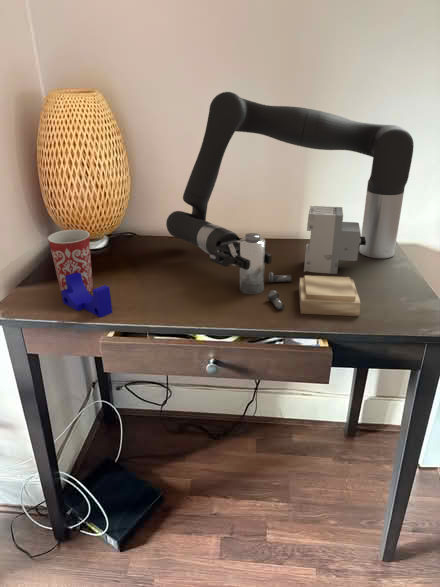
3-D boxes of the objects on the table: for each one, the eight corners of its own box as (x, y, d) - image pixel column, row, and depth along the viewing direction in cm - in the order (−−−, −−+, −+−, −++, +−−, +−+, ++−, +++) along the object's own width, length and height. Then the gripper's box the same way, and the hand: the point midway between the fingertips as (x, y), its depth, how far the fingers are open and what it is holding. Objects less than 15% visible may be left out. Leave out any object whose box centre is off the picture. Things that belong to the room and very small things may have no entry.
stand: (298, 289, 111) (300, 273, 109) (351, 291, 109) (353, 275, 107) (300, 313, 100) (301, 296, 98) (359, 316, 98) (361, 298, 97)
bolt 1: (270, 284, 113) (270, 274, 112) (268, 280, 115) (269, 270, 114) (291, 283, 114) (292, 274, 113) (289, 279, 116) (290, 270, 115)
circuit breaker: (362, 275, 117) (370, 216, 111) (303, 271, 120) (308, 213, 114) (360, 264, 124) (367, 208, 118) (305, 260, 127) (309, 205, 120)
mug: (96, 297, 108) (88, 240, 102) (55, 300, 106) (44, 243, 101) (98, 275, 119) (91, 223, 113) (60, 278, 118) (52, 226, 112)
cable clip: (63, 302, 105) (59, 278, 103) (80, 296, 108) (77, 272, 106) (94, 320, 98) (90, 294, 95) (112, 312, 101) (109, 287, 98)
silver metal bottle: (240, 283, 114) (241, 230, 108) (264, 284, 113) (265, 231, 107) (238, 293, 109) (239, 239, 103) (263, 294, 108) (265, 239, 102)
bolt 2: (267, 300, 105) (267, 290, 104) (277, 299, 106) (278, 289, 105) (275, 311, 101) (275, 301, 100) (285, 309, 101) (286, 299, 100)
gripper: (192, 232, 113) (232, 253, 101) (241, 222, 120) (284, 240, 108) (193, 261, 117) (232, 285, 104) (241, 250, 124) (283, 271, 111)
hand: (259, 262), depth 106 cm, fingers closed on silver metal bottle, 5 cm apart
